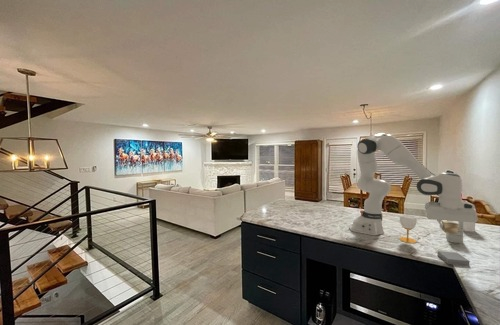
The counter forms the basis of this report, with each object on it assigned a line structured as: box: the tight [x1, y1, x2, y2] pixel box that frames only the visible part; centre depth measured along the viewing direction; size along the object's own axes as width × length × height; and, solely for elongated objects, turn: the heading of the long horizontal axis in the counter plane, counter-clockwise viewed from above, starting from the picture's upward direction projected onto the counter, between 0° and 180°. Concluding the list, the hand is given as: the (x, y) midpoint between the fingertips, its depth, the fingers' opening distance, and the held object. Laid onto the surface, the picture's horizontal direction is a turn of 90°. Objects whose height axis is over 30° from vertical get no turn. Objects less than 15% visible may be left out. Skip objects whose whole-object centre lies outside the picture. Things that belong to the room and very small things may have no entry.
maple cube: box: [441, 220, 458, 234], centre depth 111 cm, size 5×5×5 cm
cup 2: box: [463, 208, 477, 232], centre depth 152 cm, size 8×8×16 cm
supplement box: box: [445, 221, 464, 245], centre depth 135 cm, size 7×7×13 cm
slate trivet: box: [437, 250, 470, 267], centre depth 112 cm, size 9×9×3 cm
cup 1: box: [398, 214, 418, 244], centre depth 137 cm, size 9×9×16 cm
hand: (449, 228), depth 111 cm, fingers closed on maple cube, 5 cm apart
